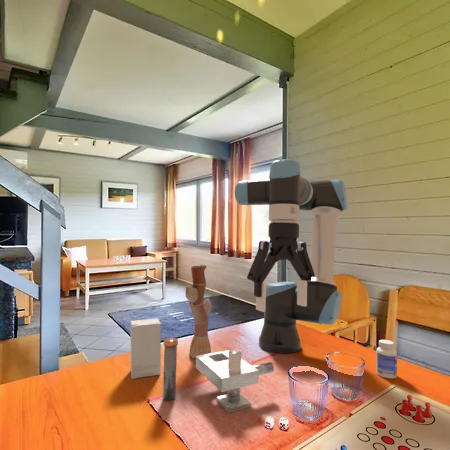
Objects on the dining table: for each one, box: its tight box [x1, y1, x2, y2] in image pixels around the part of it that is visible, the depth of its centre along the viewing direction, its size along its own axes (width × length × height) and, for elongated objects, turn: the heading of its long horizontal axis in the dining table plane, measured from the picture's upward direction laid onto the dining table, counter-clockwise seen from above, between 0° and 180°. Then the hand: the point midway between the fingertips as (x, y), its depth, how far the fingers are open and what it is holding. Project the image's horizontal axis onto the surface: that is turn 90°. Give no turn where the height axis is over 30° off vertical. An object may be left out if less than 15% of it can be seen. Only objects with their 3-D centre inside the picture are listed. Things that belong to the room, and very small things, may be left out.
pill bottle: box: [375, 339, 398, 379], centre depth 91 cm, size 5×5×10 cm
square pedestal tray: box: [195, 349, 275, 413], centre depth 79 cm, size 14×16×12 cm
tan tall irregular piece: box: [185, 264, 212, 360], centre depth 103 cm, size 10×7×30 cm
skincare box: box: [130, 317, 162, 380], centre depth 89 cm, size 8×6×15 cm
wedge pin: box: [162, 337, 179, 402], centre depth 76 cm, size 3×3×14 cm
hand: (282, 308), depth 76 cm, fingers open, 13 cm apart
